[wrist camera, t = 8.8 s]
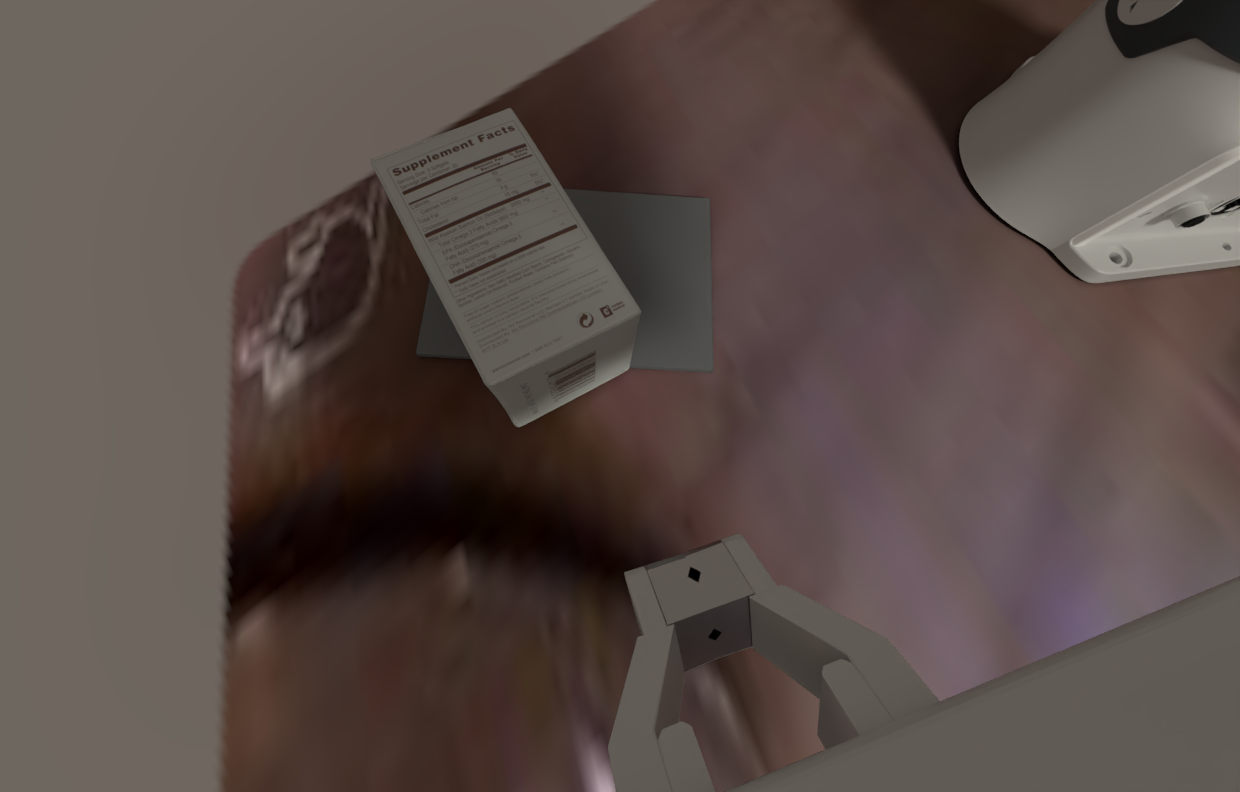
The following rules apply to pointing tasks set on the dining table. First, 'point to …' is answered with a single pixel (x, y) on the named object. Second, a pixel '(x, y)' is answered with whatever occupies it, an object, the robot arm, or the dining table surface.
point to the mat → (634, 278)
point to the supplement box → (512, 264)
